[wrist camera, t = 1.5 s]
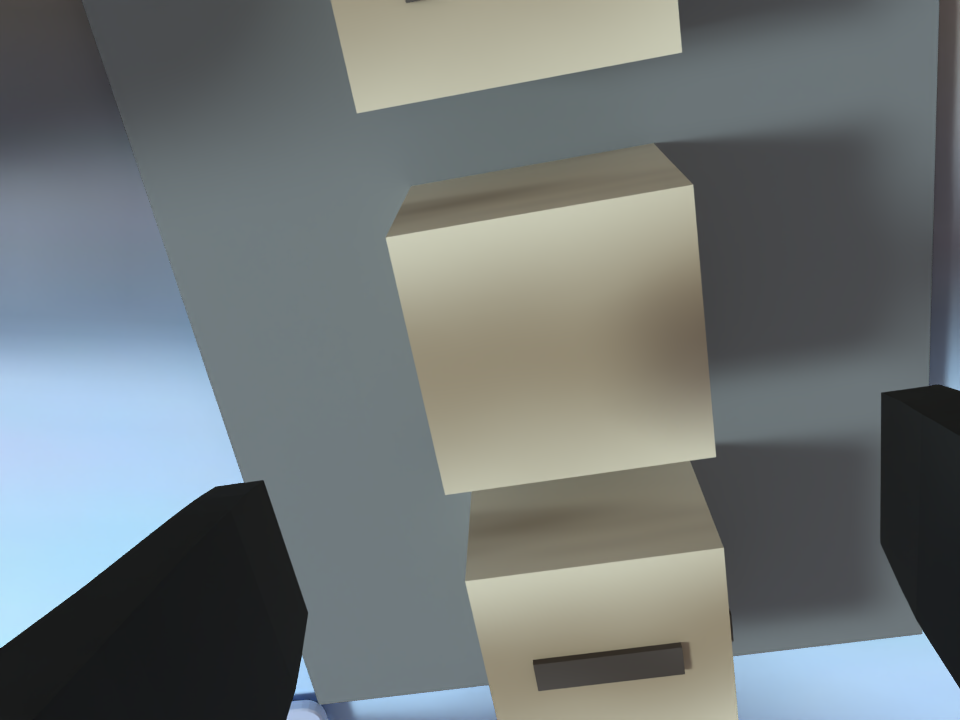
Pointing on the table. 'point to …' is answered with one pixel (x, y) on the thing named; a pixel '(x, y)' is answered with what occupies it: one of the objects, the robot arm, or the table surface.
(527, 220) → the plain block
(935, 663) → the table surface
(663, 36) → the block numbered 7
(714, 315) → the mat
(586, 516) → the beige square block
